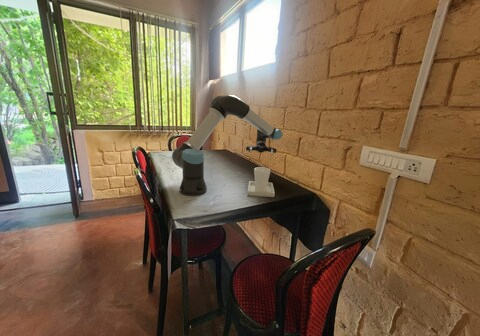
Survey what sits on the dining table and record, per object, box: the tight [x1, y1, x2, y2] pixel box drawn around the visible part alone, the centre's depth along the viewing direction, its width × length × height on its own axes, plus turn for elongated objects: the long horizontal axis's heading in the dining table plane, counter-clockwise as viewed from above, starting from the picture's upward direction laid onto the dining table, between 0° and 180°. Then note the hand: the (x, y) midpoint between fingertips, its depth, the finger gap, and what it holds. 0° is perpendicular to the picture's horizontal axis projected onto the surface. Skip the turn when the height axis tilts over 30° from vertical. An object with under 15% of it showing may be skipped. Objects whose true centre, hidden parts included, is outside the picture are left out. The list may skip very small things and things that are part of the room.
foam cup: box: [253, 166, 271, 192], centre depth 119 cm, size 10×9×13 cm
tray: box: [247, 180, 276, 198], centre depth 122 cm, size 15×18×2 cm
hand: (261, 151), depth 128 cm, fingers open, 13 cm apart
